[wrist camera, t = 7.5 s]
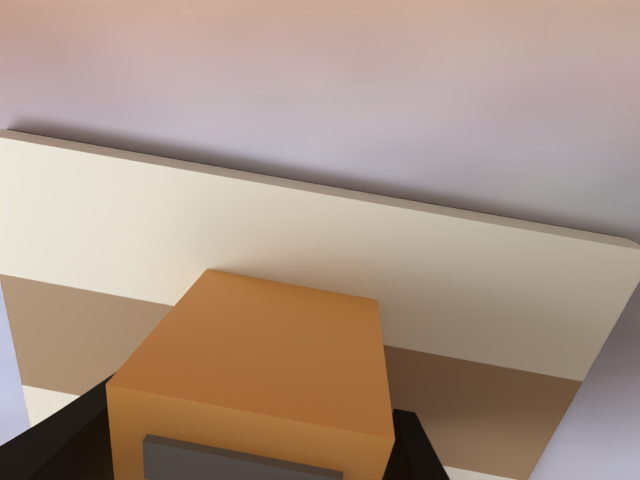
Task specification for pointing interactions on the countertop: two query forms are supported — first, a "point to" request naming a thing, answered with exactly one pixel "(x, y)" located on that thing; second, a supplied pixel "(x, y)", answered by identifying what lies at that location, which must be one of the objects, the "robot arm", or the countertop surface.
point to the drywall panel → (308, 285)
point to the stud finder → (255, 387)
